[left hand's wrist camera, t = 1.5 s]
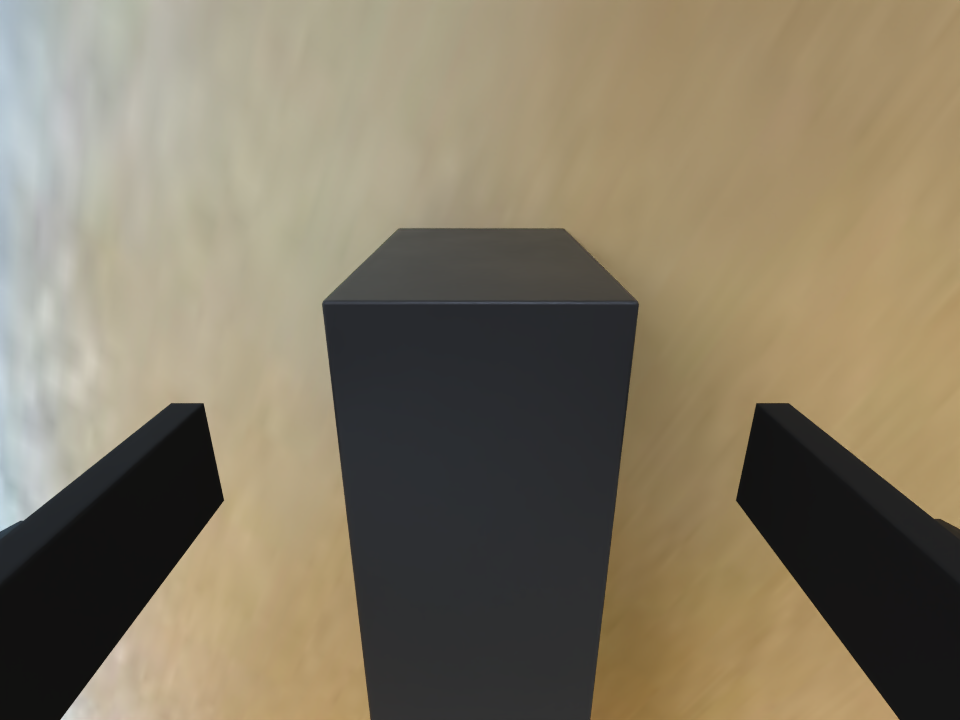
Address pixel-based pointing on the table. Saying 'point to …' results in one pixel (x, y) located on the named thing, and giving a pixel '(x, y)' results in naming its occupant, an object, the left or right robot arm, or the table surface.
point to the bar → (480, 467)
